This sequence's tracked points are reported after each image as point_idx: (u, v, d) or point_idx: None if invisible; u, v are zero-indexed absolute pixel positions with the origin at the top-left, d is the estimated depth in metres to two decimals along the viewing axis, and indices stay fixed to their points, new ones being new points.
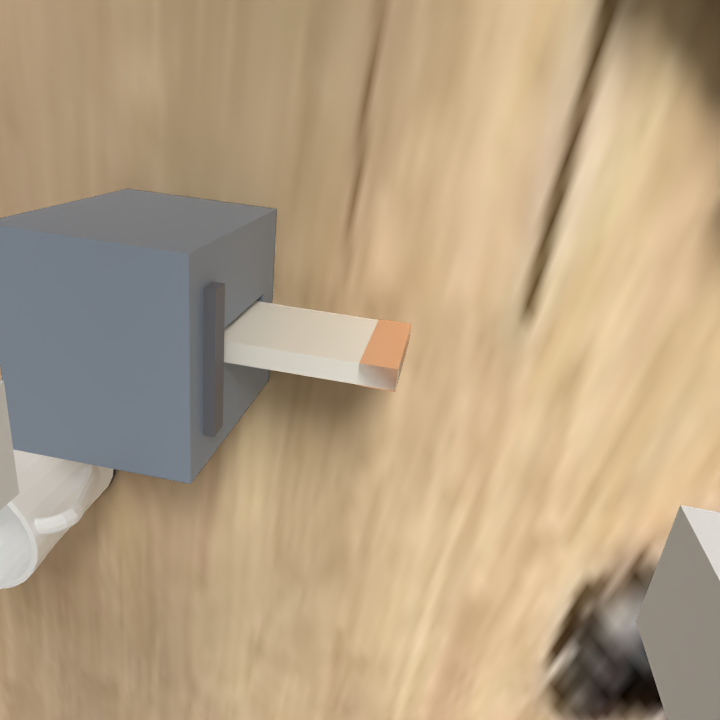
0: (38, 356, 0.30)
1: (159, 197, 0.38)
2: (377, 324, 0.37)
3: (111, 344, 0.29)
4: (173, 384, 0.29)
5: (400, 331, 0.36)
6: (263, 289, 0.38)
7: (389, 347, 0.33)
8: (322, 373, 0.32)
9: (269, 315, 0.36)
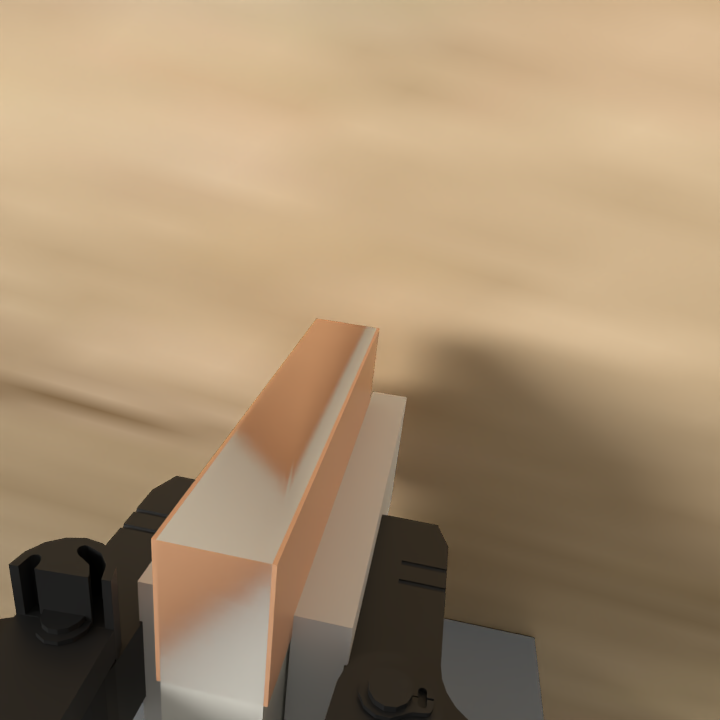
0: None
1: None
2: None
3: None
4: None
5: None
6: None
7: None
8: None
9: None
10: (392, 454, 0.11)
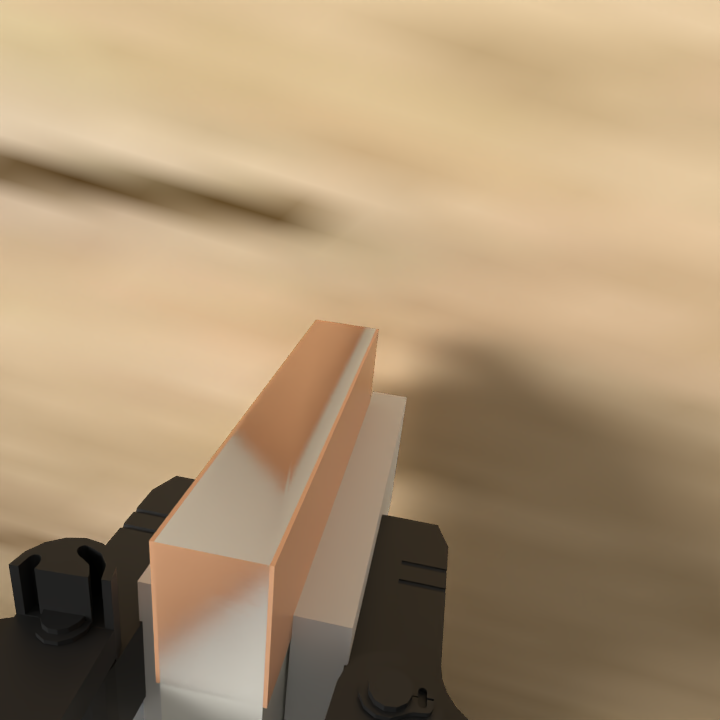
0: None
1: None
2: None
3: None
4: None
5: None
6: None
7: None
8: None
9: None
10: (392, 454, 0.11)
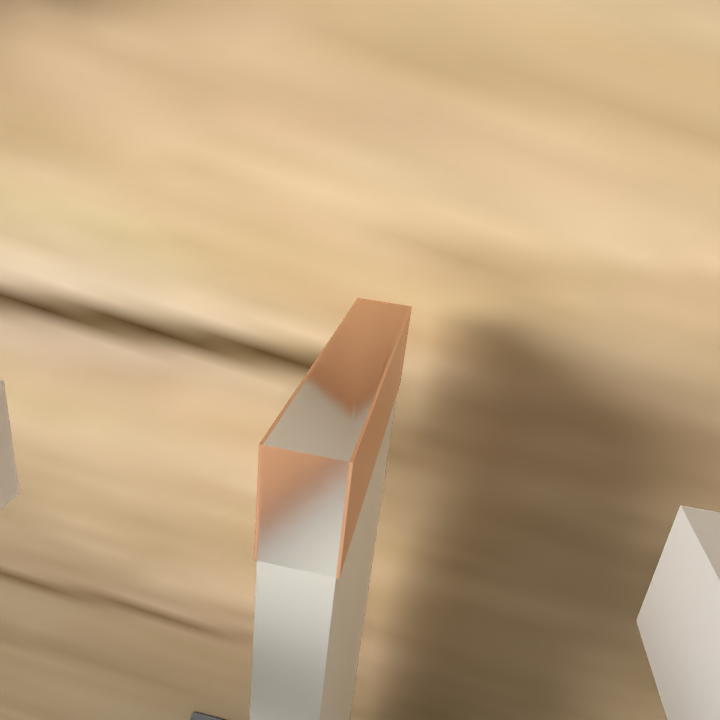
0: None
1: None
2: None
3: None
4: None
5: None
6: None
7: None
8: (307, 664, 0.10)
9: None
10: None
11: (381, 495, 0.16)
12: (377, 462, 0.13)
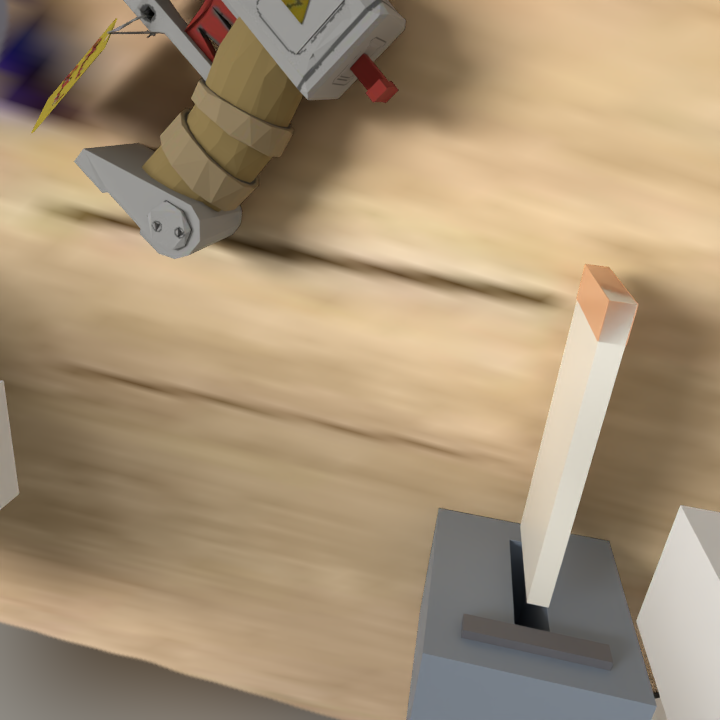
0: None
1: (423, 596, 0.46)
2: (579, 302, 0.34)
3: None
4: (542, 692, 0.32)
5: (587, 279, 0.33)
6: (505, 539, 0.42)
7: (594, 299, 0.30)
8: (608, 380, 0.29)
9: (556, 413, 0.35)
10: None
11: None
12: None
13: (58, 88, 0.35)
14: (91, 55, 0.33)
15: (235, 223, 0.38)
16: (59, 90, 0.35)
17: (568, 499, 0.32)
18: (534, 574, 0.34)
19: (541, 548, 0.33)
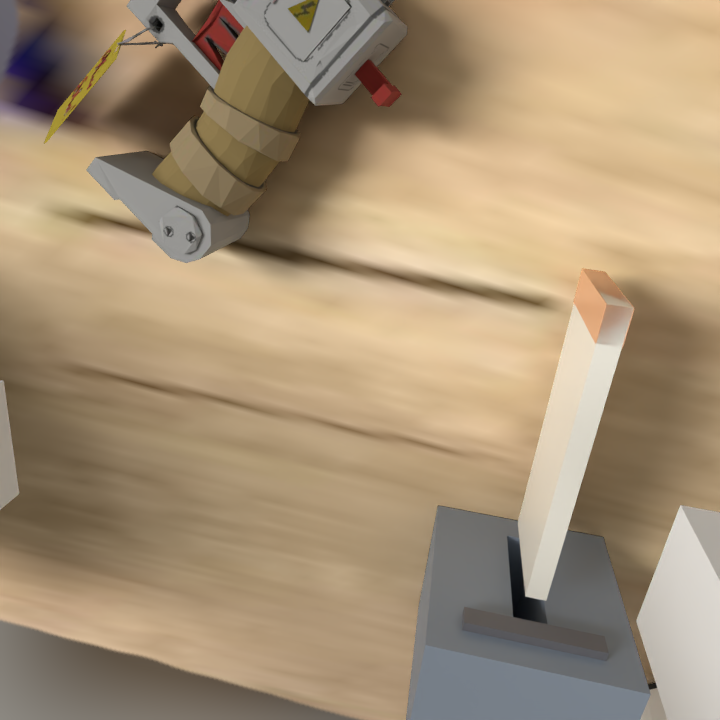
0: None
1: (422, 592, 0.47)
2: (576, 305, 0.35)
3: (501, 714, 0.35)
4: (541, 681, 0.33)
5: (584, 283, 0.34)
6: (502, 535, 0.43)
7: (592, 303, 0.31)
8: (605, 381, 0.30)
9: (553, 413, 0.36)
10: None
11: None
12: None
13: (68, 99, 0.36)
14: (101, 66, 0.34)
15: (243, 226, 0.39)
16: (70, 101, 0.35)
17: (566, 495, 0.33)
18: (532, 568, 0.35)
19: (539, 543, 0.34)
